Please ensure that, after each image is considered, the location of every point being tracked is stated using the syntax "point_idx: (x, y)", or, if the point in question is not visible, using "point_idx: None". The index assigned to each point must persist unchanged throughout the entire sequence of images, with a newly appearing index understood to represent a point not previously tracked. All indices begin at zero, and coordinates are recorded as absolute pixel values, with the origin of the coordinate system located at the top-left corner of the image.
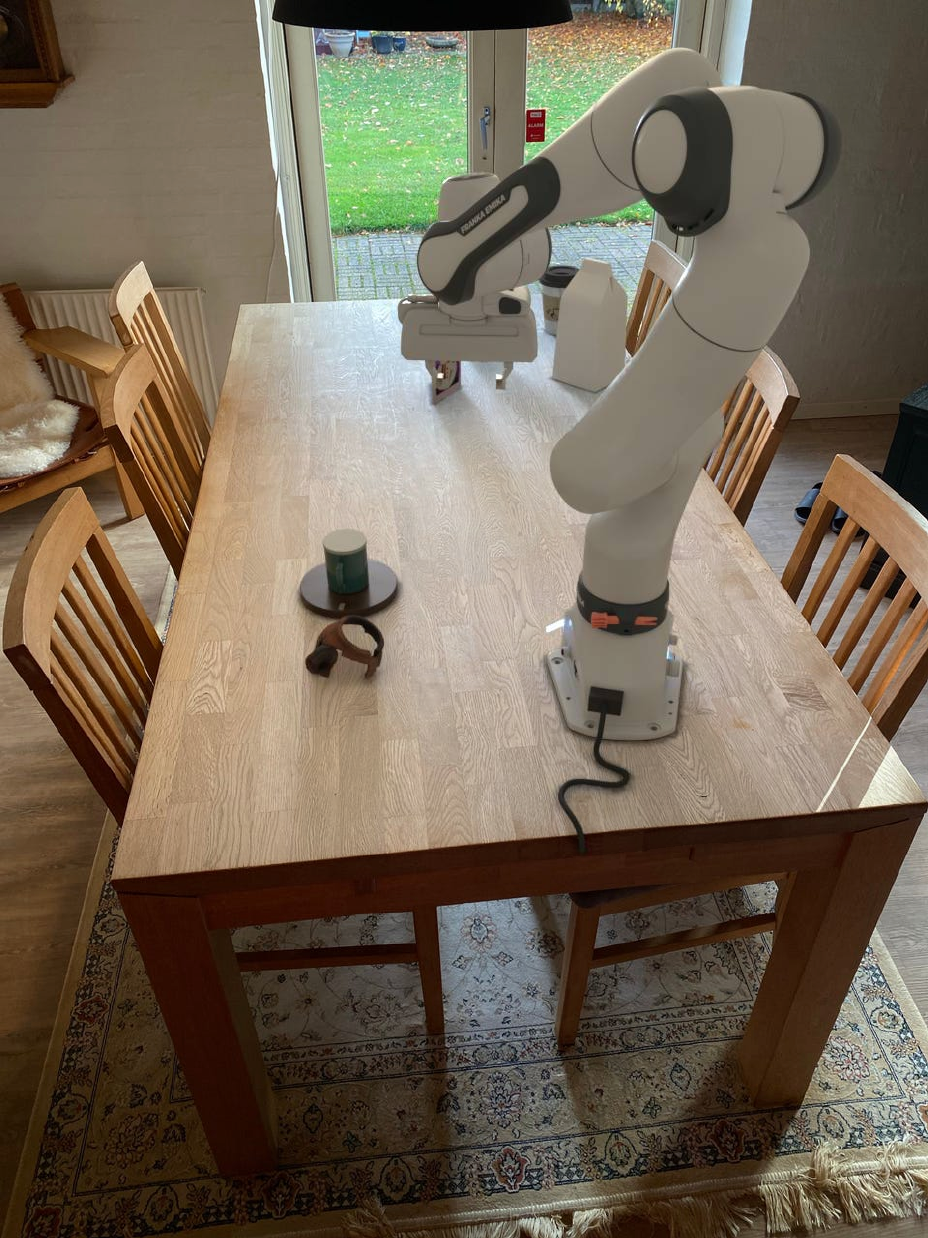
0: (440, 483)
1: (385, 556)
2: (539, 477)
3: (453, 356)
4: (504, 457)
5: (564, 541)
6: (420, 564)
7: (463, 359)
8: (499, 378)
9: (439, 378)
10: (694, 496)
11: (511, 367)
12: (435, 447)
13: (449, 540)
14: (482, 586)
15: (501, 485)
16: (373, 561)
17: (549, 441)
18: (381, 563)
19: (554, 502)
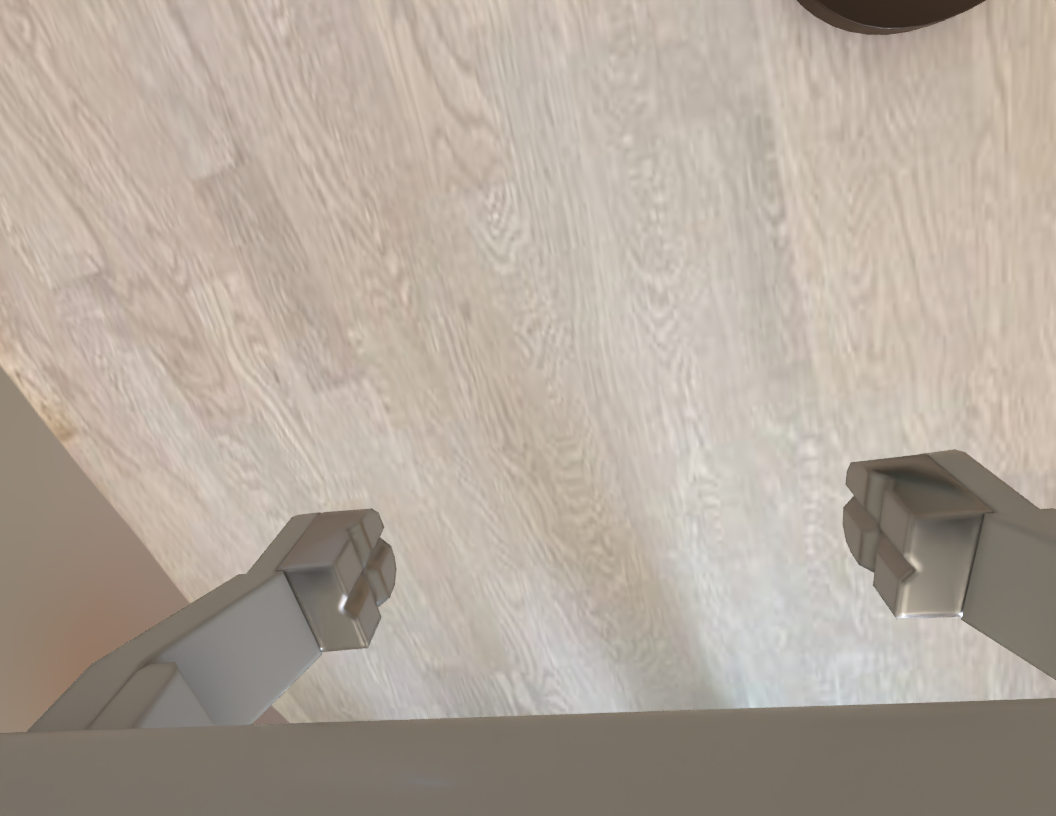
0: (703, 499)
1: (815, 109)
2: (482, 552)
3: (958, 787)
4: (574, 615)
5: (354, 300)
6: (702, 89)
7: (703, 728)
8: (304, 577)
9: (947, 509)
10: (162, 525)
11: (93, 674)
12: (735, 636)
13: (638, 242)
14: (500, 8)
15: (557, 511)
16: (860, 10)
17: (495, 677)
18: (832, 4)
19: (424, 461)
